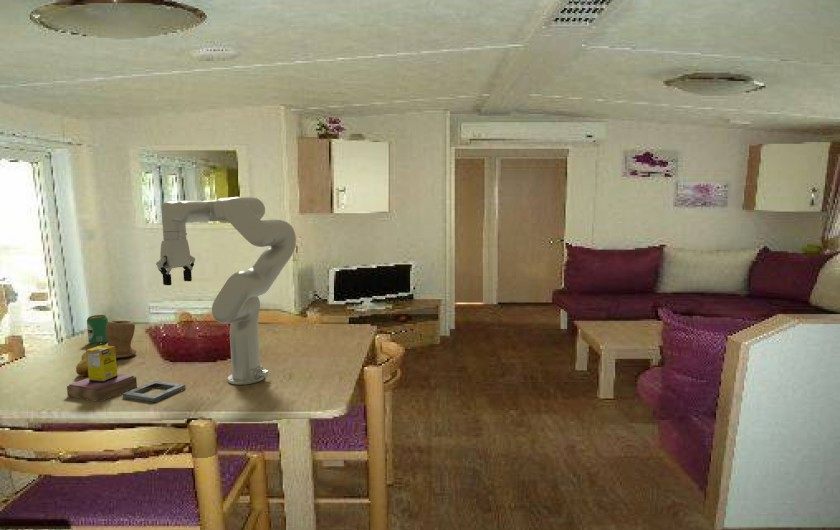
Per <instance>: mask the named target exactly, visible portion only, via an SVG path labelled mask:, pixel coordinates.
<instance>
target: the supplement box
mask: <svg viewBox="0 0 840 530" xmlns="http://www.w3.org/2000/svg"><path fill="white" fill-rule="evenodd" d="M85 352H86V354H87V364H88V375H89V376H88V378H89V382H99V383H105V382H107V381H110V380H112V379H115V378H117V377H118V375H117V374H118V365H117V358H116V352H115V346H108V345H102V344H99V345H97V346H95V347H92V348H89V349H86V350H85Z"/></svg>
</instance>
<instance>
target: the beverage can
mask: <svg viewBox="0 0 840 530" xmlns="http://www.w3.org/2000/svg"><path fill="white" fill-rule="evenodd" d="M108 322H109V319H108V317H107V316H106V314H95V315H90V316H88V317H87V319H86V326H87V327H86V328H87V338H88V343H89V344H90V345H92V344H97V345H101V344H100V343H103V344H106V343H105V342H107V337H106V324H107V323H108ZM107 343H108V342H107Z"/></svg>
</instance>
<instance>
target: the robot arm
mask: <svg viewBox="0 0 840 530" xmlns="http://www.w3.org/2000/svg"><path fill="white" fill-rule="evenodd" d="M160 208H161V220H162V221H161V222H162V235H163V236H162V239H163V240H161V244H160V253H159V254H160V257H159V258H160V259H159V260H158V261H157V262H156V263H155V265H156V266H157V267H156V268H157V269H158V271H159V272H160V274H161V275H162V284H163V286H172V274H171V271H172V269H177V268H182V269H183V272H182V273H183V274H182V275H183V281H184V282H192V281H193V278H192V277H193V276H192V270H193V267H194V266H195V262H196V257H194V256H192V255H191V253H190V252H191V251H190V245H189V242H188V239H187V235H188V233H187V227H186V223H201V222H204V223H205V222H220V223H224V224H230V225H231V226H232V227H233V228H234V229H235V230H236V231H237V232H238V233H239V234H240V235H241V236H242V237H243V238H244V239H245V240H246V241H247V242H248V243H250V244H251V245H253V246H254V247H261V248H263V247H267V248H266V249H265V250H264V251H263V252H262V253H261V254H260V256H259V257H258V259H257V260H256V262H255V263H254V264H253V265H252V267H250V268H248V269H245V270H240V271H237V272H235V273H233V274H231V275H230V277H228V279H227V280H226V281H225V283H224V284H223V286H222V288H221V289H220V290H219V292H218V294H217V295H216V297H215V298H214V299H213V300H214V301H213V303H212V305H211V314H212V317H213V318H214V320H215V321H216V322H218V323H220V324H227V325H228V324H230V328H229V343H230V345H229V346H230V347H229V348H230V361H231V365H230V366H231V374H229V375H228V376H227V379H226V380H227V383H229V384H232V385H235V386H237V385H241V386H242V385H243V386H244V385H245V386H246V385H251V384H255V383H256V384H257V383H259V382H261V381H263V380H264V379H266V378H268V374H270V373H269V371H270V370H269V369H268V370H266V369H264V368H263V365H261V362H260V361H261V359H260V358H261V357H260V340H259V317H260V310H261V304H260V303H261V302H260V299H259V297H261V296H262V295H265V294H267V292H268V291H269V290H270V288H271V287H272V285H273V284H274V283H275V281H276V279H277V278H278V276H279V275H280V273H281V272H282V270H283V268H284V267H285V266H286V264H287V263H288V262H289V261H290V259H291V257H292V255H293V254H294V252H295V249H296V246H297V245H296V244H297V236H296V233H295V230H294V227H293V226H292V225H291V224H290V223H289V222H288V221H285V220H281V219H262V218H263V217H264V215H265V213H266V207H265V204H264V202H263V201H262V200H260V199H259V198H257V197H253V196H234V197H220V198H218V199H217V200H181V201H164V202H163V203H162V204H161V207H160Z"/></svg>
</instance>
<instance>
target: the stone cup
mask: <svg viewBox="0 0 840 530" xmlns="http://www.w3.org/2000/svg"><path fill="white" fill-rule="evenodd" d="M135 325H136V324H135V323H134V321H131V320H108V323H107V324H106V337H107V341H108V342H107V346H115V352H116V359H121V358H129V357H131V356H134V355H136V354H137V353H138V352H137V350H136V349H133V348H132V347H131V345H132V340H133V338H134V335H135V329H136V327H135Z"/></svg>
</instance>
